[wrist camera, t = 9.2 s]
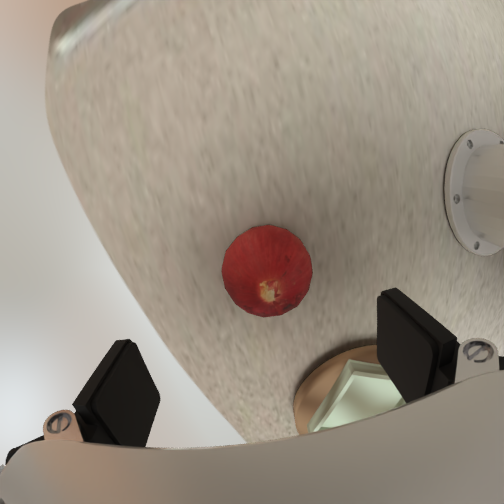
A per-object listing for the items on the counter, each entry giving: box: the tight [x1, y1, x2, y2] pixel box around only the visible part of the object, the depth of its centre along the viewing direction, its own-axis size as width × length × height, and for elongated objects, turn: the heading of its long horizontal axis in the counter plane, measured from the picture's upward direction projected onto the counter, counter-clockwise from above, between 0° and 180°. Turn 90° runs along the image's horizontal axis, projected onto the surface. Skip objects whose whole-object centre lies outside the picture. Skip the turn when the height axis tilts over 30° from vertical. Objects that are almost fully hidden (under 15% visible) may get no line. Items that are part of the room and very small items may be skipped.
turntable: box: [293, 345, 406, 435], centre depth 21 cm, size 13×13×8 cm
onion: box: [222, 225, 313, 317], centre depth 18 cm, size 6×6×8 cm
